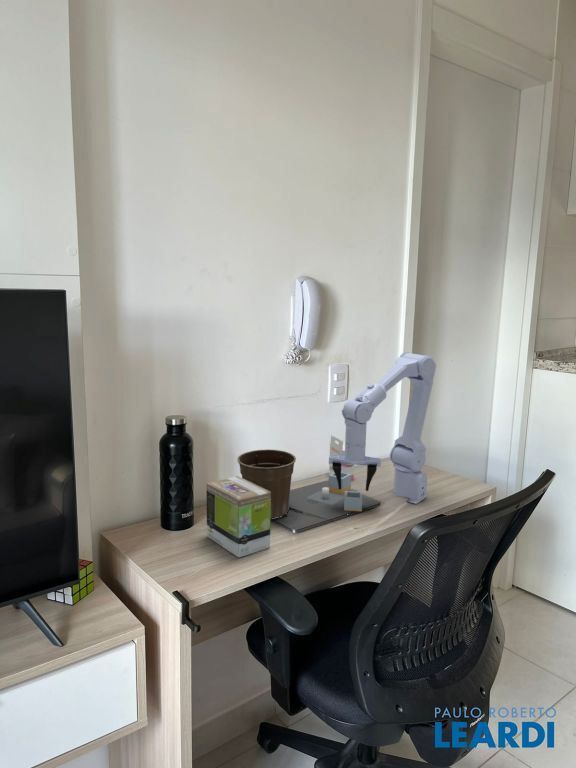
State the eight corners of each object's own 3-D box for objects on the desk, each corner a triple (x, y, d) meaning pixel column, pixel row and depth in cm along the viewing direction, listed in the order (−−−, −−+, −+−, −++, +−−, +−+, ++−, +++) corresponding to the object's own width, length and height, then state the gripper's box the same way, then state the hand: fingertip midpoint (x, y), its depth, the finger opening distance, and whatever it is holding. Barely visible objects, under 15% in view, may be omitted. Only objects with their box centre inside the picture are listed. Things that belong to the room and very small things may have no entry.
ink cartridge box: (354, 483, 188) (356, 439, 186) (341, 485, 186) (342, 441, 183) (341, 475, 196) (342, 433, 193) (328, 477, 194) (329, 434, 191)
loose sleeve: (361, 508, 168) (362, 492, 167) (361, 515, 163) (362, 498, 162) (344, 507, 169) (344, 491, 168) (343, 514, 164) (344, 497, 163)
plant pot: (247, 527, 154) (247, 470, 151) (230, 505, 169) (230, 452, 166) (303, 519, 160) (305, 463, 157) (282, 498, 175) (283, 447, 172)
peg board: (357, 494, 179) (358, 481, 178) (331, 509, 167) (332, 495, 166) (332, 487, 184) (333, 474, 183) (306, 501, 172) (306, 488, 171)
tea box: (271, 547, 143) (272, 491, 140) (237, 559, 137) (237, 500, 134) (237, 526, 154) (238, 474, 152) (205, 536, 148) (204, 481, 146)
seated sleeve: (350, 489, 179) (351, 474, 178) (342, 494, 175) (342, 478, 174) (336, 486, 182) (337, 471, 181) (328, 490, 178) (328, 475, 177)
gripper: (328, 445, 159) (327, 492, 161) (382, 448, 157) (379, 495, 160) (329, 438, 166) (328, 483, 168) (381, 441, 164) (378, 486, 167)
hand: (353, 488), depth 165 cm, fingers open, 7 cm apart
